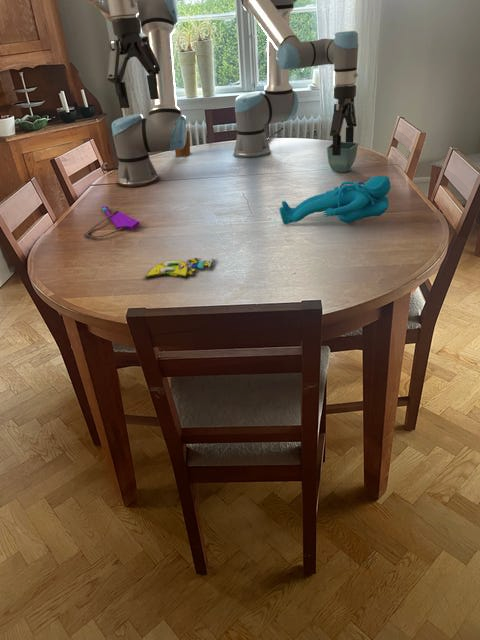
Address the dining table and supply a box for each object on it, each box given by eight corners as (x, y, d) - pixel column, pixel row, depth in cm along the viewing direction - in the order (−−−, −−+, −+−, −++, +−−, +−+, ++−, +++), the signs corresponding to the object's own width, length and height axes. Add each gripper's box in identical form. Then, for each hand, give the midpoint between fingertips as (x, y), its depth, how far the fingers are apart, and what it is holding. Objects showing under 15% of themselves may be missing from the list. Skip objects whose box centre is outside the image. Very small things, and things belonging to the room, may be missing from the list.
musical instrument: (112, 245, 135) (156, 212, 147) (109, 239, 134) (154, 206, 146) (58, 238, 148) (103, 208, 160) (55, 232, 147) (101, 202, 159)
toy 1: (206, 274, 112) (144, 275, 114) (207, 278, 112) (145, 278, 115) (214, 255, 120) (156, 256, 123) (214, 258, 121) (157, 259, 123)
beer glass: (168, 157, 212) (164, 128, 205) (178, 151, 219) (174, 123, 212) (187, 157, 208) (183, 128, 202) (197, 151, 216) (193, 123, 209)
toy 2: (283, 190, 142) (387, 164, 132) (292, 223, 147) (393, 200, 137) (274, 211, 129) (390, 183, 118) (285, 246, 134) (396, 223, 124)
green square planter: (349, 174, 171) (350, 148, 166) (325, 172, 175) (326, 147, 170) (357, 167, 177) (358, 142, 172) (334, 166, 181) (335, 141, 176)
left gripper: (103, 19, 118) (121, 112, 129) (164, 14, 135) (175, 95, 147) (81, 21, 121) (101, 111, 133) (143, 16, 139) (156, 95, 150)
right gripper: (343, 90, 150) (341, 159, 161) (367, 79, 168) (364, 142, 179) (320, 91, 153) (320, 158, 164) (346, 80, 171) (344, 142, 182)
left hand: (140, 103), depth 140 cm, fingers open, 13 cm apart
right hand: (343, 150), depth 172 cm, fingers open, 13 cm apart
